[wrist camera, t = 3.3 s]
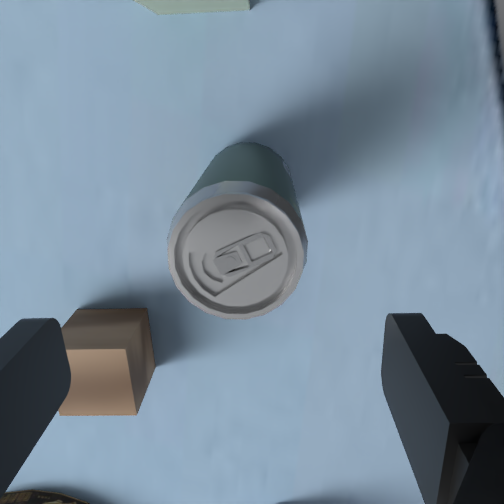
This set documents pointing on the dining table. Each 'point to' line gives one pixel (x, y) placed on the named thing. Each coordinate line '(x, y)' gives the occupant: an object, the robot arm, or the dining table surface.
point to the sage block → (193, 6)
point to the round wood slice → (38, 498)
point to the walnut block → (107, 361)
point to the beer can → (239, 235)
